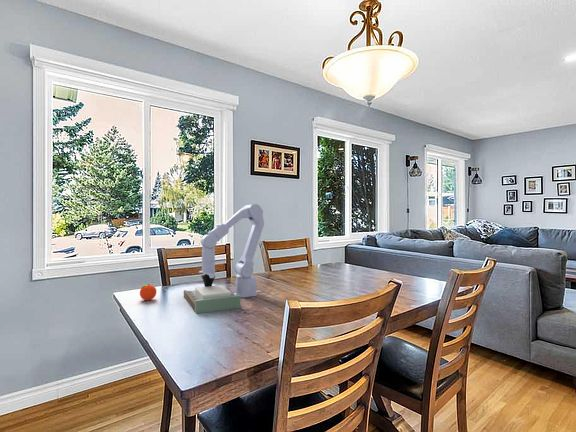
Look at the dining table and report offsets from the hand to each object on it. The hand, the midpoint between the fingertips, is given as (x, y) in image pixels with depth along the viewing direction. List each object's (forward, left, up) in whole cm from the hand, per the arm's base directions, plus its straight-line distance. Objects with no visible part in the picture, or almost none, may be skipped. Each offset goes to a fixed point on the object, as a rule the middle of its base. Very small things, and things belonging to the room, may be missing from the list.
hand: (208, 290), depth 150 cm
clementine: (+25, -10, -4) cm, 27 cm away
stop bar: (0, +17, -4) cm, 17 cm away
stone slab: (0, +8, -1) cm, 8 cm away
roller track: (0, +3, -4) cm, 5 cm away
